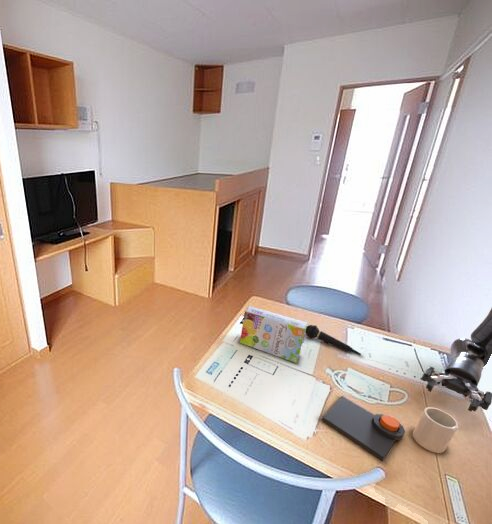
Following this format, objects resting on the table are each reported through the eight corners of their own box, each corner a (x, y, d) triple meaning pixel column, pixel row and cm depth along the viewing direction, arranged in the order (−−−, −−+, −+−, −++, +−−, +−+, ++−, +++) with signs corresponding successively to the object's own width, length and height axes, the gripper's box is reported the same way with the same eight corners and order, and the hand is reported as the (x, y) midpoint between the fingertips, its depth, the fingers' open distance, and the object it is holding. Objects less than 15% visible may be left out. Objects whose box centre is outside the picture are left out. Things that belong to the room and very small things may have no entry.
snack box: (299, 355, 115) (308, 321, 109) (296, 364, 110) (305, 329, 104) (243, 336, 126) (248, 304, 120) (238, 343, 121) (244, 310, 115)
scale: (404, 434, 84) (408, 426, 83) (387, 464, 77) (390, 456, 76) (342, 397, 96) (344, 390, 95) (321, 420, 88) (324, 412, 87)
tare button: (399, 426, 84) (401, 422, 83) (394, 434, 81) (396, 429, 81) (382, 416, 87) (384, 412, 86) (377, 424, 84) (379, 419, 84)
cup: (447, 443, 82) (461, 419, 78) (441, 458, 78) (455, 433, 75) (416, 426, 87) (428, 403, 83) (409, 439, 83) (421, 415, 80)
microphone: (357, 359, 117) (303, 333, 129) (364, 346, 116) (309, 321, 127) (356, 363, 113) (301, 335, 124) (364, 349, 112) (307, 323, 123)
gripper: (436, 351, 98) (422, 373, 89) (501, 377, 88) (492, 405, 79) (428, 369, 101) (413, 392, 92) (489, 397, 91) (479, 425, 82)
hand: (449, 398), depth 85 cm, fingers open, 8 cm apart
